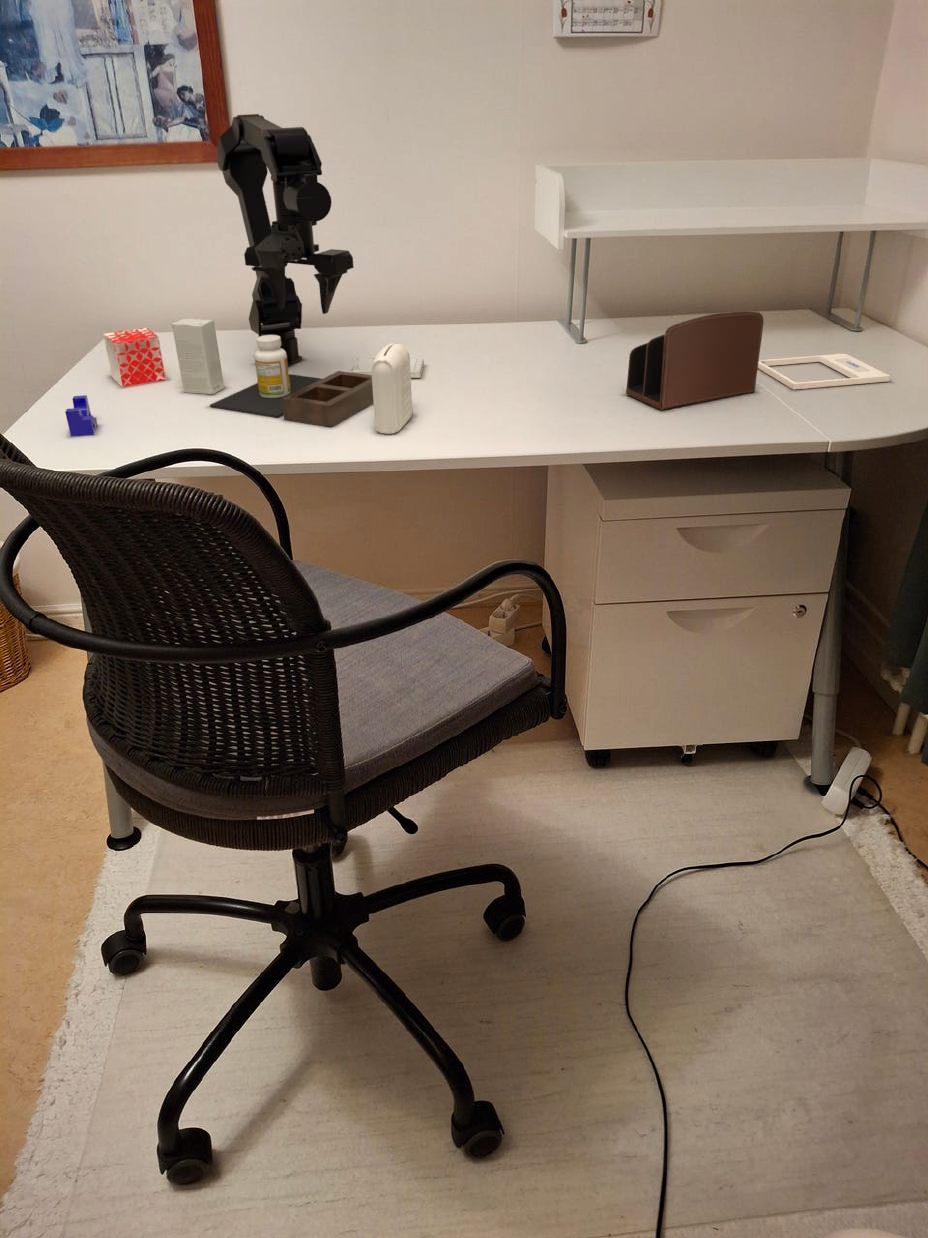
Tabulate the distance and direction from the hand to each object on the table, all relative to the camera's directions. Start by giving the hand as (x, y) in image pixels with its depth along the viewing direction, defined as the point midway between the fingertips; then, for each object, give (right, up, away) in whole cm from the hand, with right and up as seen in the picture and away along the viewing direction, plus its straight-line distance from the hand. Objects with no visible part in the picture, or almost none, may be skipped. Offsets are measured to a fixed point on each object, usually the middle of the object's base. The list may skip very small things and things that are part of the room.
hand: (303, 310), depth 166 cm
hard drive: (+14, -8, +12) cm, 20 cm away
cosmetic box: (-18, -13, +5) cm, 23 cm away
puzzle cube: (-32, -9, +12) cm, 35 cm away
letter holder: (+66, -15, -2) cm, 68 cm away
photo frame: (+91, -9, +6) cm, 92 cm away
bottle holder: (+6, -18, -5) cm, 20 cm away
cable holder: (-33, -22, -11) cm, 41 cm away
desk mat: (-4, -14, +2) cm, 15 cm away
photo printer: (+17, -22, -12) cm, 30 cm away
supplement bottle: (-5, -14, +1) cm, 15 cm away
